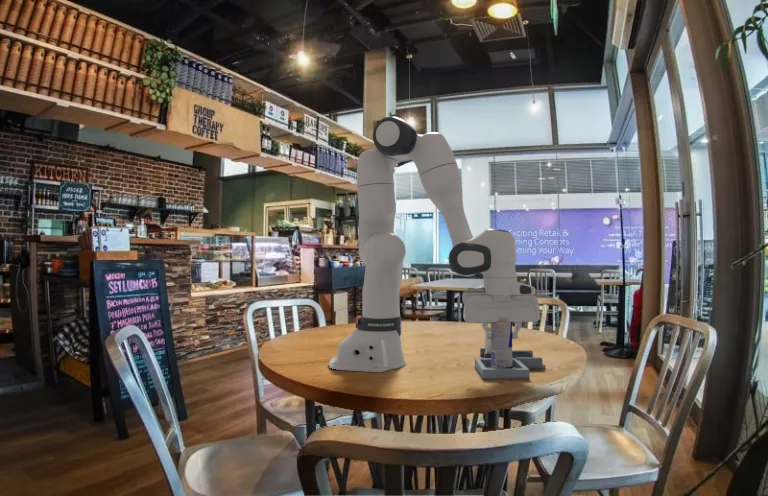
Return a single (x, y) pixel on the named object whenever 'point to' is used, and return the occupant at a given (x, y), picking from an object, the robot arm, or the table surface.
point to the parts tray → (501, 370)
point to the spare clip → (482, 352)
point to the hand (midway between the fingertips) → (501, 338)
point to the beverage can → (501, 343)
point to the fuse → (488, 341)
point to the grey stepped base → (528, 359)
